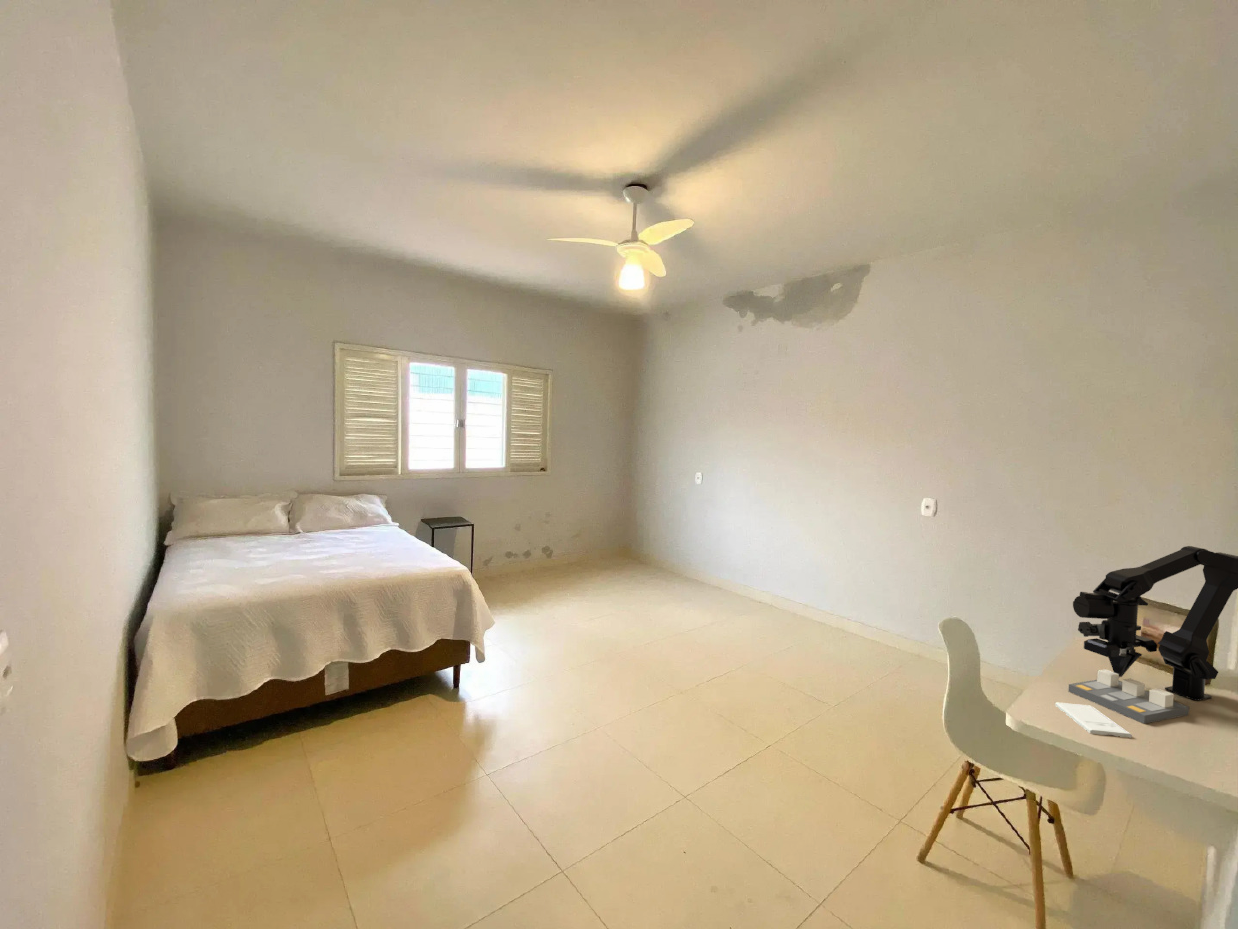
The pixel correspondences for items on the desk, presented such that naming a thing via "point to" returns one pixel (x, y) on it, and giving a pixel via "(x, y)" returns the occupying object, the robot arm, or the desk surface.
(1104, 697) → the switch panel
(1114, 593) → the robot arm
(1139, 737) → the desk surface
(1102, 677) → the tab
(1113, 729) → the external hard drive
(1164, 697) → the tab
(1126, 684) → the tab
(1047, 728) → the desk surface
